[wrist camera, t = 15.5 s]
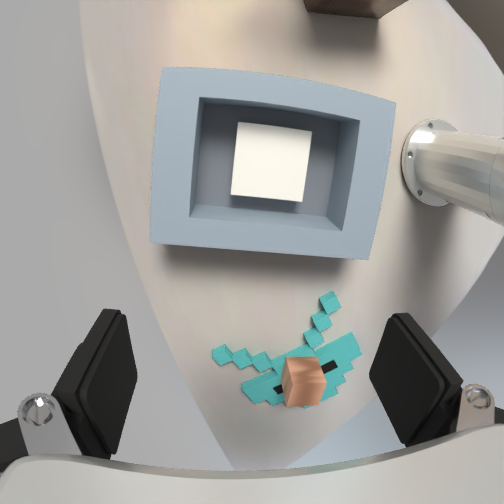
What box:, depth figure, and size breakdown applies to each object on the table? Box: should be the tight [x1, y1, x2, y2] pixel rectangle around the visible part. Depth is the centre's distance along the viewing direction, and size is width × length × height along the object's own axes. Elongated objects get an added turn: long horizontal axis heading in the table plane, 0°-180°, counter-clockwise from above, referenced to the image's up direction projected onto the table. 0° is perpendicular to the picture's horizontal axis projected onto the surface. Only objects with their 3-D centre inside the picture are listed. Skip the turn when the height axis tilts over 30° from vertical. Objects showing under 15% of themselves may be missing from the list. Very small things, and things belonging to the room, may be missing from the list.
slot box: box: [150, 67, 396, 260], centre depth 32 cm, size 24×18×7 cm
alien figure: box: [212, 291, 362, 408], centre depth 47 cm, size 20×2×20 cm
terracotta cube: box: [281, 356, 327, 407], centre depth 43 cm, size 5×5×6 cm
